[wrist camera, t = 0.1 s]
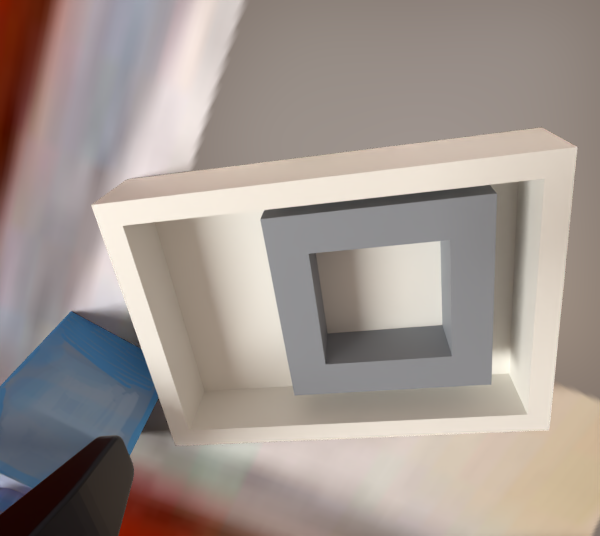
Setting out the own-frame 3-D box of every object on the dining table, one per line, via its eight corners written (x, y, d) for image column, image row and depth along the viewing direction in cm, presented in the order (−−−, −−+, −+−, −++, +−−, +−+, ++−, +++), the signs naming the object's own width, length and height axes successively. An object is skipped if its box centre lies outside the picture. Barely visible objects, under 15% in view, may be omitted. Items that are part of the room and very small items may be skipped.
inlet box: (524, 380, 26) (549, 430, 22) (194, 398, 28) (175, 446, 25) (541, 127, 20) (577, 147, 17) (126, 179, 23) (91, 205, 19)
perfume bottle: (35, 384, 29) (-149, 599, 18) (71, 311, 26) (-119, 511, 16) (130, 432, 30) (10, 661, 19) (174, 366, 27) (63, 589, 17)
